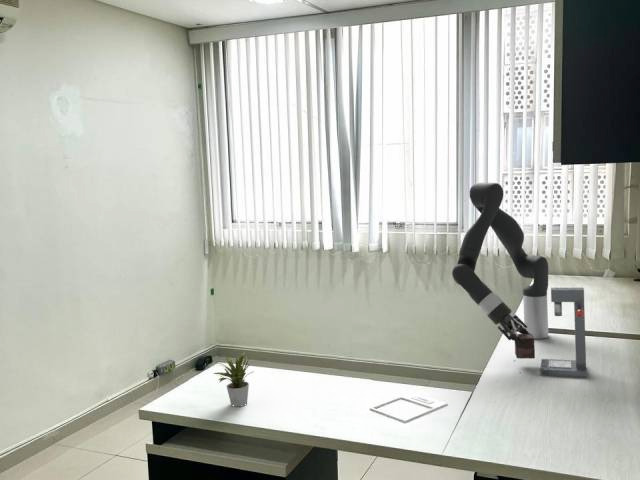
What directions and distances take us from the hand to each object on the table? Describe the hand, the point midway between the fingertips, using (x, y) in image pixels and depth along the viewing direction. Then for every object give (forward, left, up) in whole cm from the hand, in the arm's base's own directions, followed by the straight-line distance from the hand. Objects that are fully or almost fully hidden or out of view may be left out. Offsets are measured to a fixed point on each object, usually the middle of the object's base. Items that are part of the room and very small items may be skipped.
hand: (528, 343), depth 208 cm
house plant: (+52, -86, -9) cm, 101 cm away
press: (+5, +11, -8) cm, 15 cm away
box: (0, -1, -5) cm, 5 cm away
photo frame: (+45, -32, -9) cm, 56 cm away
